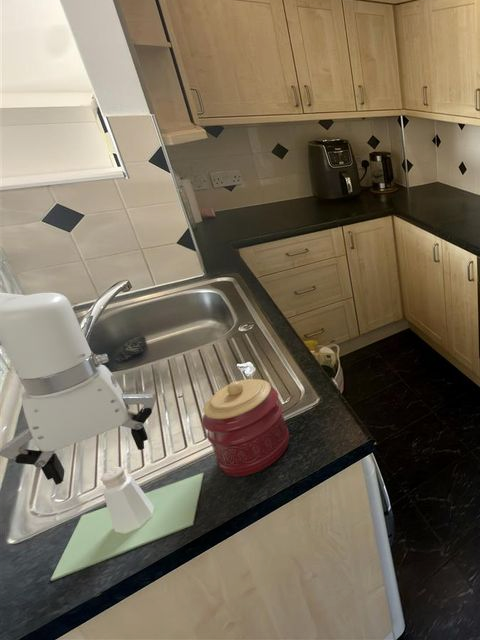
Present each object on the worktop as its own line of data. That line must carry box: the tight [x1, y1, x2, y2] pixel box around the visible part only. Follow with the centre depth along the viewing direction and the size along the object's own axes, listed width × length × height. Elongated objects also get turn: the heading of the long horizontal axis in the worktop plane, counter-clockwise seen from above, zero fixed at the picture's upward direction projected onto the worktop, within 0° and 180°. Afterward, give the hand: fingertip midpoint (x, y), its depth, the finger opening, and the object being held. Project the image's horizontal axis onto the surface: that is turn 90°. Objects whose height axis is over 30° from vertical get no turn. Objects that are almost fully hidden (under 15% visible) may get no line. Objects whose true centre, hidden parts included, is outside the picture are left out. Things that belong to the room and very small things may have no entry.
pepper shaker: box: [100, 466, 154, 534], centre depth 69 cm, size 5×5×11 cm
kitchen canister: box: [201, 378, 290, 478], centre depth 82 cm, size 13×13×18 cm
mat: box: [50, 472, 205, 582], centre depth 71 cm, size 18×12×1 cm, turn 119°
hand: (102, 460), depth 66 cm, fingers open, 9 cm apart
